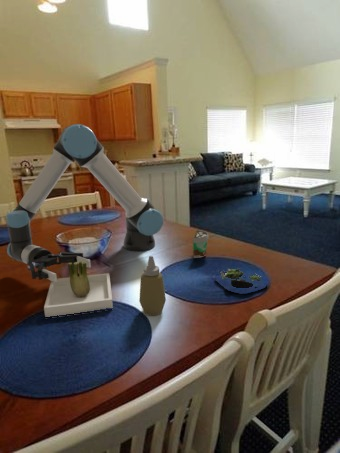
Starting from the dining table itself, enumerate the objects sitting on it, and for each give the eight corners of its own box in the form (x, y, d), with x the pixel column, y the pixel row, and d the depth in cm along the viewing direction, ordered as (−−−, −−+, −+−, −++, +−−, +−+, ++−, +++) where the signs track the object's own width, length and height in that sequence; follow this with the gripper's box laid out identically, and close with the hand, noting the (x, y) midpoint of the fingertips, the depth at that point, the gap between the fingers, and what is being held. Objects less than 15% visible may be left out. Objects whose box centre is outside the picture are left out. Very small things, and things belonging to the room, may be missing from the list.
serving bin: (109, 281, 120) (109, 273, 119) (112, 309, 101) (112, 299, 100) (53, 288, 116) (51, 279, 115) (45, 318, 97) (43, 307, 96)
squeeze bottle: (139, 304, 103) (137, 252, 98) (165, 303, 104) (163, 251, 99) (139, 319, 96) (137, 262, 91) (167, 317, 96) (165, 261, 91)
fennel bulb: (69, 296, 108) (65, 263, 104) (79, 290, 112) (76, 257, 108) (83, 300, 105) (79, 266, 102) (93, 293, 109) (90, 260, 106)
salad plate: (201, 277, 123) (201, 266, 122) (239, 268, 130) (240, 257, 129) (232, 300, 106) (232, 287, 105) (274, 288, 114) (275, 276, 112)
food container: (207, 261, 137) (207, 238, 134) (192, 260, 138) (192, 238, 135) (209, 250, 149) (210, 230, 146) (196, 250, 150) (196, 229, 147)
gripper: (66, 256, 130) (102, 268, 117) (5, 278, 110) (40, 296, 98) (64, 238, 127) (101, 248, 115) (1, 258, 108) (37, 273, 96)
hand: (73, 270), depth 107 cm, fingers open, 13 cm apart
